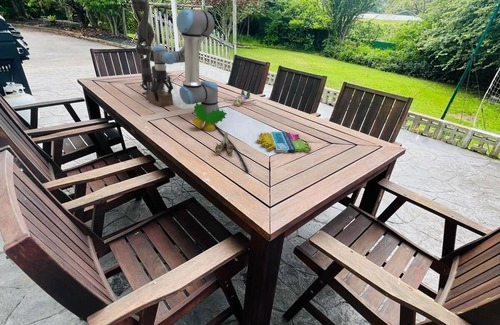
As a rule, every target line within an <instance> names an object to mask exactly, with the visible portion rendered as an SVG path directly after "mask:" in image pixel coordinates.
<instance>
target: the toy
mask: <svg viewBox="0 0 500 325" xmlns="http://www.w3.org/2000/svg"><path fill="white" fill-rule="evenodd" d="M240 92H241V93H240V95H238V96H237V97H235V99H233V98H230V99H228V98H227V97H226V96H225V97H224V98H223V101H224V102H233V103H232V104H233V105H235V106H242V103H243V104H247V105H252V106H255V105H256V104H257V103H256V102H254V101H253V100H252V101H251V102H250V101H248V100H246V99H248V98H250V97H251V90H250V89H249V90H248V91H247V92H246V93H245V91H244V89H242V90H241V91H240Z"/></svg>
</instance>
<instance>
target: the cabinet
mask: <svg viewBox="0 0 500 325" xmlns="http://www.w3.org/2000/svg"><path fill="white" fill-rule="evenodd" d="M157 94H158V102H157V101H155V97H154V93H153V92H151V91H148V95H149V99H148V101H149V103H150V104H154V105H155V106H158V107H161V108H163V107H167V106H172V105H174V98H173V93H172V92H171V93H169V92H168V91H166V90H157Z"/></svg>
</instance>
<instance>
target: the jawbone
mask: <svg viewBox="0 0 500 325" xmlns="http://www.w3.org/2000/svg"><path fill="white" fill-rule="evenodd" d="M223 134H224V136H223V140H222V139H221V142H220V144H218V142H215V144H216V146H215V148H214V149H215V152H214V154H215V155H217V156H218V155H220V153H221V152H223V151H224V150H226V152H227V153H228V155H229V156H233V155H234V154H233V153H234V147H233V146H232V145H234V143H232V145H231V144H230V142H229V141H228V139H229V138H228V137H229V136H228V135H229V133H228V131H226V132H223Z"/></svg>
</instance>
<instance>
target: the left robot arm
mask: <svg viewBox="0 0 500 325" xmlns="http://www.w3.org/2000/svg"><path fill="white" fill-rule="evenodd" d="M130 1H131V6H132V9H133V12H134V14H135V16H136V19H137V21H138V22H137V23H138V26H137V41H136V46H135V52H136V54H137V55H138V56H145V57H143V58H140V59H139V64H140V74H141V79H142V81H141V83H140V84H139V86H140V87H141V88H142V89H143V90H144V91H149V90H151V87H152V77H153V78H156V74H155V70H156V69H155V65H152V66H151V62H152V63H154V56H153V48H152V45H153V42H154V40H155V32H154V27H153V26H152V24H151V23H150V22H149V18H150V16H149V15H150V3H149V2H150V1H149V0H130ZM142 12H143V13H142ZM156 82H157V80H156ZM158 83H159V82H158ZM155 85H156V84H155ZM165 89H166V85H165V84H164V83H160V85H159V87H158V90H163V91H166V90H165Z"/></svg>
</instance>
